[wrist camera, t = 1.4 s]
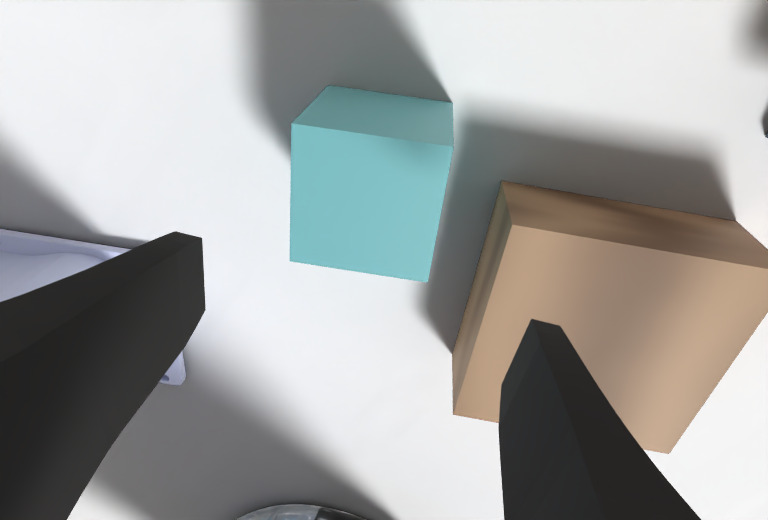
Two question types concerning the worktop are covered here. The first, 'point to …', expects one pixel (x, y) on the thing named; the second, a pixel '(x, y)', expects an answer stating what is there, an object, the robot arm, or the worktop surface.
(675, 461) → the worktop surface
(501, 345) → the tan square block
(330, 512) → the supplement tub
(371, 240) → the teal block
